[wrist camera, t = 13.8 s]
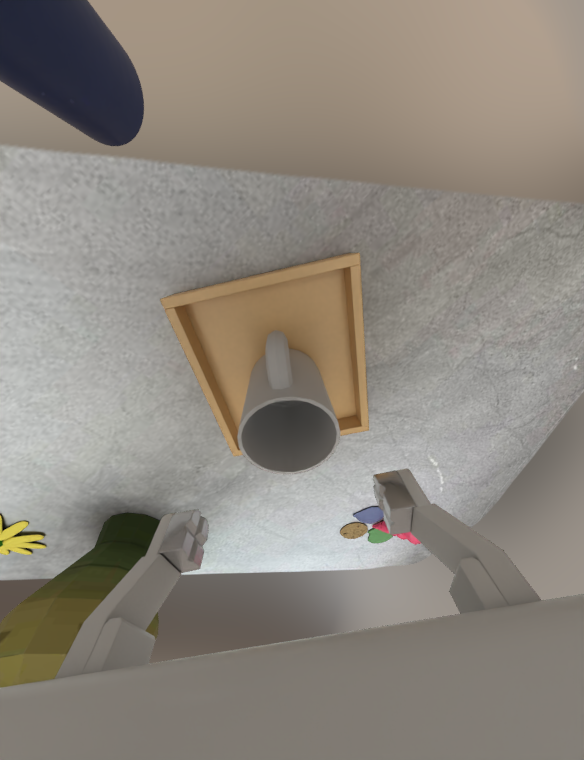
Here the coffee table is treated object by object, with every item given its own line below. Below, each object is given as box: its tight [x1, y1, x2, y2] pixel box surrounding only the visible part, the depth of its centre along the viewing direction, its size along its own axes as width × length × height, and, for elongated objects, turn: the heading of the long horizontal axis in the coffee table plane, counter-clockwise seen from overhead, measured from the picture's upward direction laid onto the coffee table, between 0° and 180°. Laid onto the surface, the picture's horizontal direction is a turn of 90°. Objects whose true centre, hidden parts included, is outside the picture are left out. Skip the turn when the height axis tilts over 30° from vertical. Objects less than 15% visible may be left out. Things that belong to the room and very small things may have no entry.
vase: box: [0, 513, 160, 688], centre depth 23 cm, size 16×16×30 cm
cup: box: [237, 330, 340, 474], centre depth 19 cm, size 7×10×9 cm
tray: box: [160, 253, 369, 456], centre depth 23 cm, size 18×16×3 cm
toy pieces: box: [340, 507, 421, 545], centre depth 37 cm, size 12×11×4 cm
